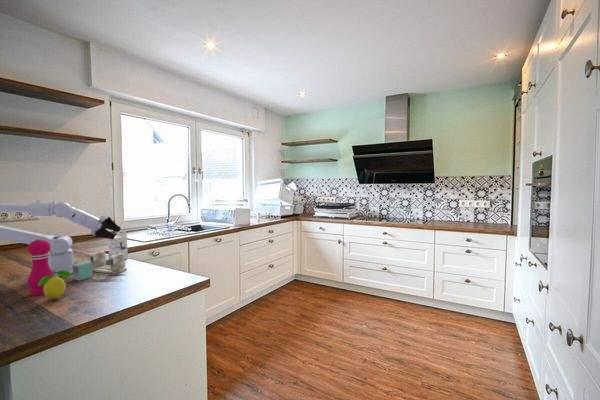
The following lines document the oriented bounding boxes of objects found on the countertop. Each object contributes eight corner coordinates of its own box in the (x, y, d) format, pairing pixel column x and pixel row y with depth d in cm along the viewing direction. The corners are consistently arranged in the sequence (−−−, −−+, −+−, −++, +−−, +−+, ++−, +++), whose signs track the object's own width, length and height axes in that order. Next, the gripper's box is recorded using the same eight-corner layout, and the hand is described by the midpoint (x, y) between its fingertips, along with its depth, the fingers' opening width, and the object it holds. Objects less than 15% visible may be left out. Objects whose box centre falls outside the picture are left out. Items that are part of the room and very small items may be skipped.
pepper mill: (53, 286, 105) (49, 233, 104) (58, 291, 101) (54, 235, 99) (26, 292, 100) (22, 236, 98) (30, 297, 95) (25, 238, 94)
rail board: (113, 274, 119) (112, 256, 119) (90, 270, 125) (89, 254, 125) (126, 270, 125) (125, 253, 124) (104, 266, 131) (103, 250, 130)
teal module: (78, 280, 112) (78, 265, 111) (72, 279, 113) (71, 264, 113) (92, 276, 117) (92, 262, 116) (86, 275, 118) (85, 261, 118)
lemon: (73, 295, 97) (71, 266, 96) (59, 302, 91) (57, 271, 90) (53, 295, 96) (51, 266, 96) (37, 302, 91) (35, 272, 90)
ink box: (108, 259, 144) (106, 230, 143) (118, 257, 148) (117, 229, 148) (118, 261, 140) (116, 231, 139) (128, 259, 144) (127, 230, 143)
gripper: (95, 205, 124) (126, 220, 130) (86, 220, 132) (116, 234, 138) (85, 217, 119) (119, 232, 125) (76, 232, 127) (108, 245, 133)
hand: (117, 233), depth 131 cm, fingers open, 7 cm apart
